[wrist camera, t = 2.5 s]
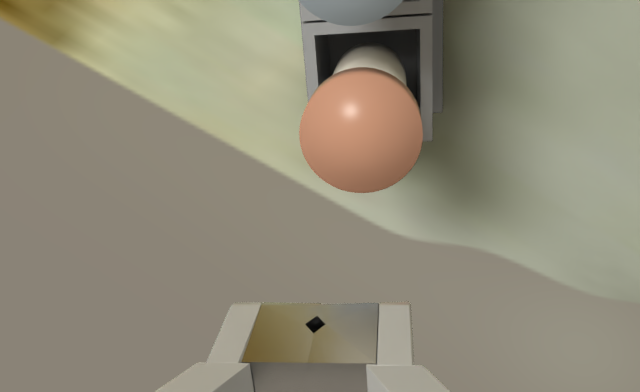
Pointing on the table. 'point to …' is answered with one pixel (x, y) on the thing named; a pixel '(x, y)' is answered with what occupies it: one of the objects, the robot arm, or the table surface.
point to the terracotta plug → (363, 122)
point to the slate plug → (350, 10)
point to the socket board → (394, 32)
